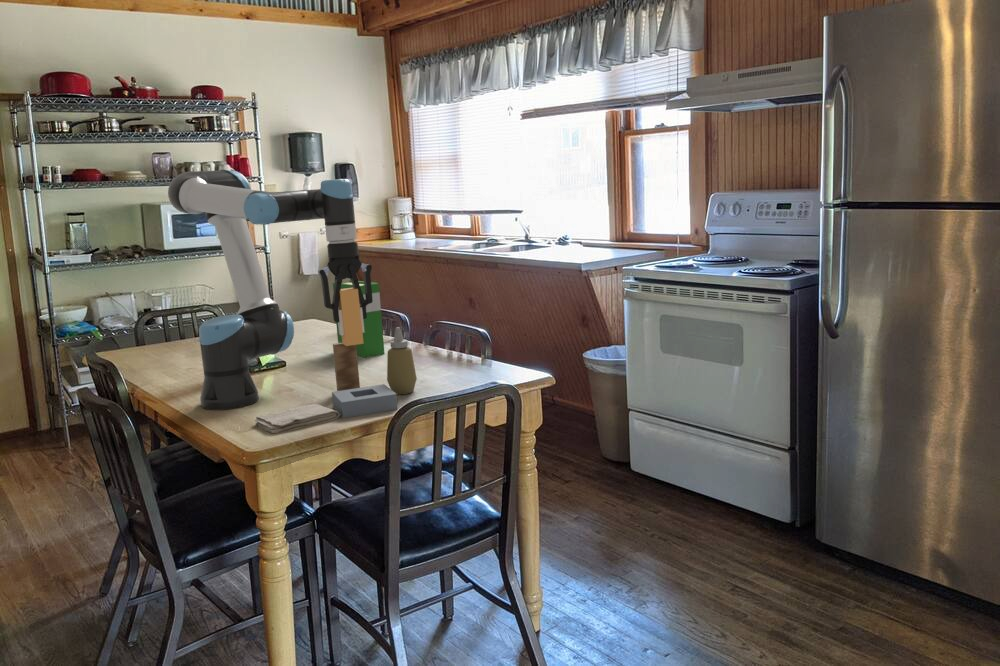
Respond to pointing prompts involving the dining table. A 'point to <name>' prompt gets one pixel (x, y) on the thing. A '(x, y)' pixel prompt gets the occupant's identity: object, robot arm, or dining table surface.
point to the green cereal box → (369, 323)
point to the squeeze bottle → (400, 365)
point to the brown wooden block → (346, 366)
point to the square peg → (351, 317)
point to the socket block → (364, 400)
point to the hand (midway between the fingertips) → (351, 333)
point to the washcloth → (295, 418)
